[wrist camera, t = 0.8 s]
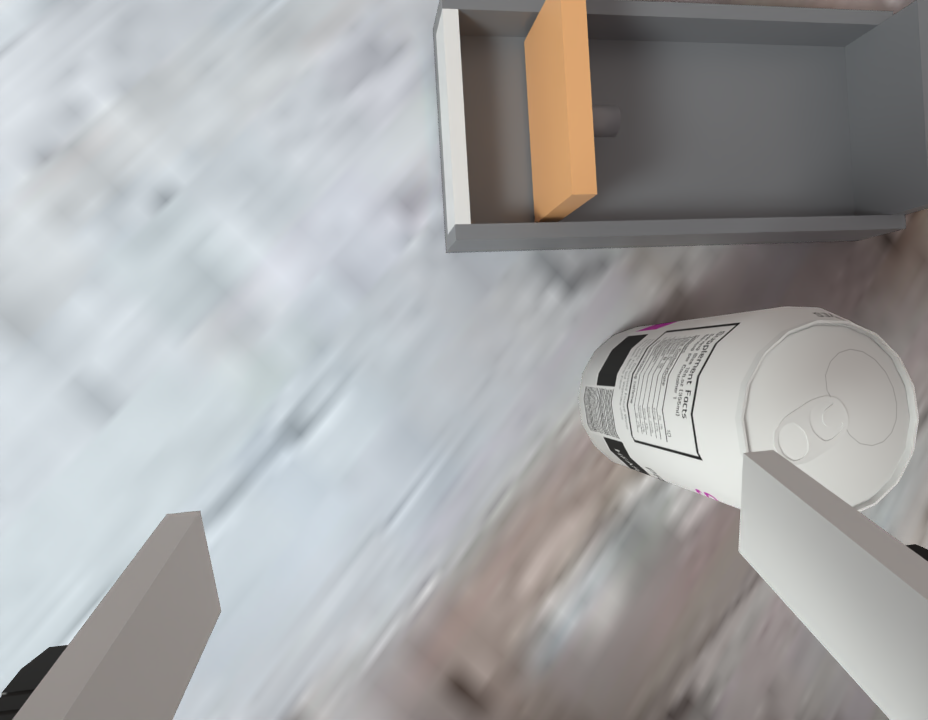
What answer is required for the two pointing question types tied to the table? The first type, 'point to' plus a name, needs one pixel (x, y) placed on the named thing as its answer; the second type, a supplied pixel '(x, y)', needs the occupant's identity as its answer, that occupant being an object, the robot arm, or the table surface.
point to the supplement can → (754, 402)
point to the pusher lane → (693, 125)
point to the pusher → (563, 110)
